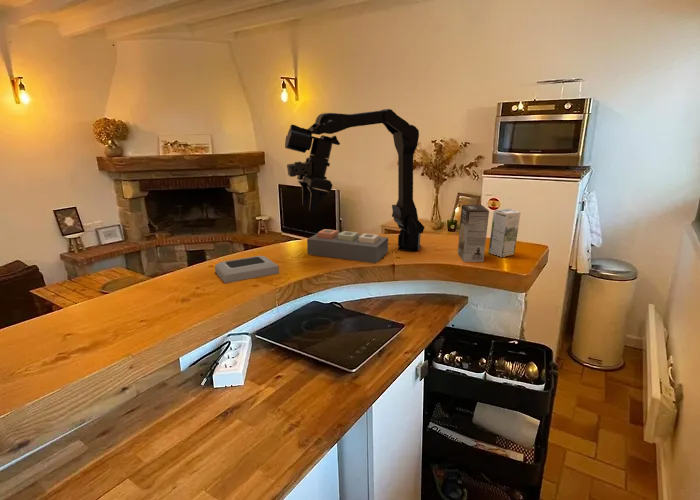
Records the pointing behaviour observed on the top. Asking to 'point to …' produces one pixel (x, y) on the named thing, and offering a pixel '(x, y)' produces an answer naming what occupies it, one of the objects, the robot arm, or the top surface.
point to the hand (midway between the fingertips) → (307, 208)
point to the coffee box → (473, 233)
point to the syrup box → (504, 232)
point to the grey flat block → (245, 268)
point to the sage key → (348, 236)
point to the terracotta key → (328, 234)
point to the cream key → (369, 238)
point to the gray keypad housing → (347, 248)
